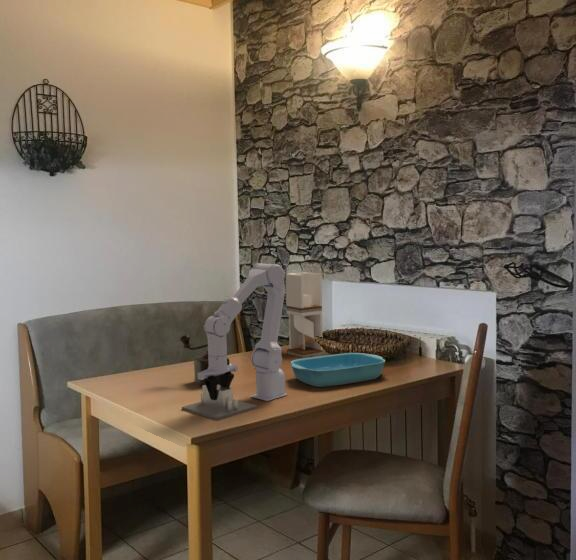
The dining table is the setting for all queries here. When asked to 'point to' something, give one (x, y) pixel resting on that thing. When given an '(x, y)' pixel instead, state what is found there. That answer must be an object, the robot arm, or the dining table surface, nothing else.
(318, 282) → the cream table lamp
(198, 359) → the brown wooden grinder
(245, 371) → the dining table surface
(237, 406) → the dock
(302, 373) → the casserole dish
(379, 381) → the dining table surface
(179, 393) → the dining table surface
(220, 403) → the block
